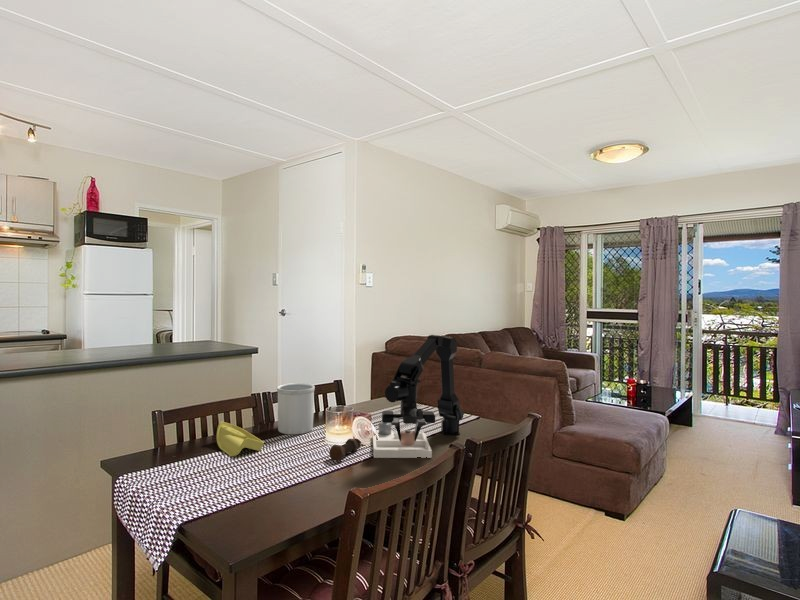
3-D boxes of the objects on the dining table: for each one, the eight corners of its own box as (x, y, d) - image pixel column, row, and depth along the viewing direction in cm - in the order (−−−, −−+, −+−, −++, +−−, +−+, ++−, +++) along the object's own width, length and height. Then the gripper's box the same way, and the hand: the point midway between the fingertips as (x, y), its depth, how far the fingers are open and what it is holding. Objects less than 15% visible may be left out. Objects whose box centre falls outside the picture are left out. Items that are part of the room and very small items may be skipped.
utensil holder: (268, 429, 186) (269, 386, 186) (297, 421, 198) (298, 381, 198) (292, 437, 177) (293, 392, 177) (321, 429, 189) (322, 386, 189)
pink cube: (413, 441, 168) (414, 428, 168) (415, 445, 163) (415, 432, 163) (399, 441, 168) (400, 428, 168) (401, 445, 163) (401, 432, 163)
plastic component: (266, 443, 164) (243, 437, 157) (257, 464, 162) (233, 458, 155) (239, 426, 177) (217, 419, 170) (230, 445, 175) (207, 439, 168)
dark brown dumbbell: (359, 453, 169) (337, 465, 155) (349, 444, 171) (326, 455, 157) (366, 440, 168) (345, 451, 154) (356, 431, 169) (334, 442, 156)
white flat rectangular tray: (421, 431, 190) (421, 425, 190) (431, 457, 161) (431, 450, 161) (372, 431, 188) (372, 425, 188) (373, 457, 159) (374, 450, 159)
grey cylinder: (390, 431, 187) (391, 420, 187) (391, 435, 182) (391, 423, 182) (378, 431, 187) (378, 419, 187) (378, 435, 182) (379, 423, 182)
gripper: (383, 402, 156) (382, 448, 157) (438, 403, 158) (437, 448, 158) (382, 394, 168) (381, 437, 168) (433, 395, 169) (432, 438, 169)
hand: (407, 440), depth 166 cm, fingers closed on pink cube, 5 cm apart
